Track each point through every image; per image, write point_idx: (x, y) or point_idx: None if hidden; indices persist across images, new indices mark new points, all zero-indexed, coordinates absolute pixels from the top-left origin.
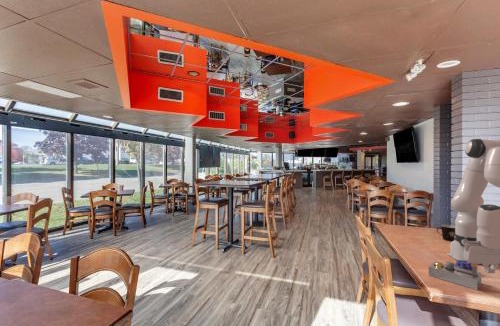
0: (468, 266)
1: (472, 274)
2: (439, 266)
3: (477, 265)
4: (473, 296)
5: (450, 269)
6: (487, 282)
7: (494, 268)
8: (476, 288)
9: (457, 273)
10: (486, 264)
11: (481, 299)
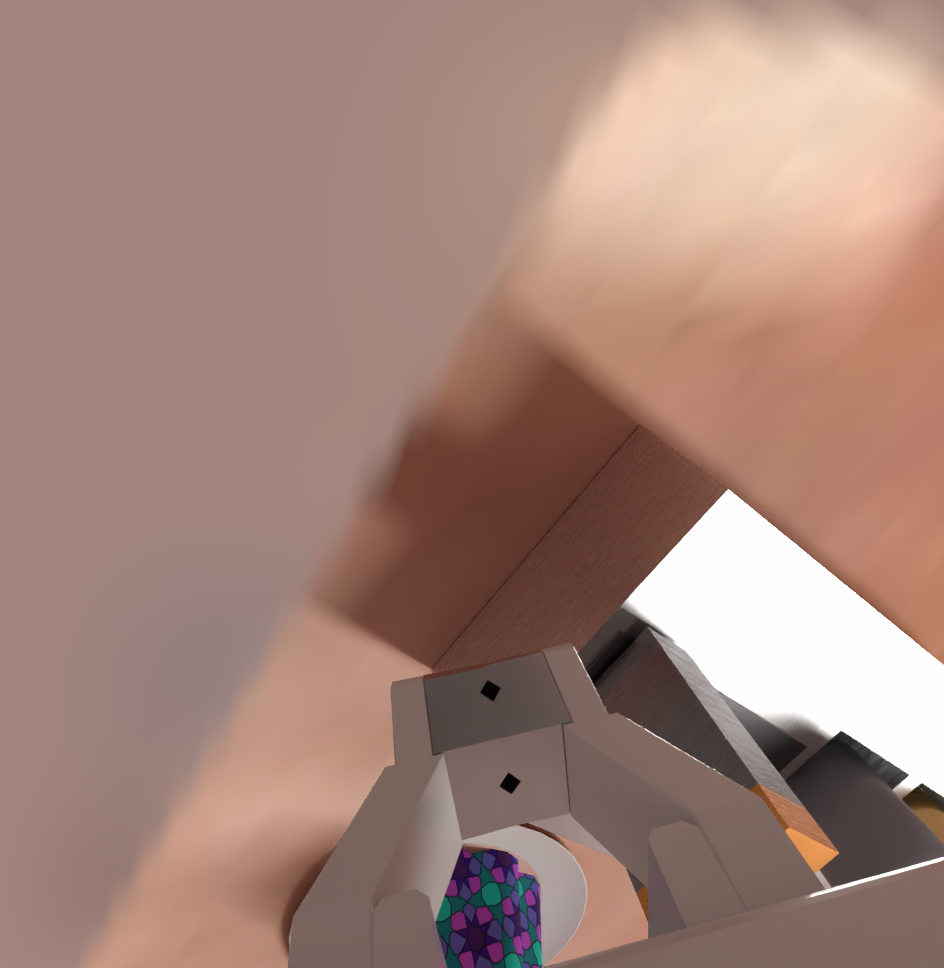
0: None
1: (694, 662)
2: (935, 814)
3: (643, 893)
4: (858, 170)
5: (866, 764)
6: (328, 716)
7: (425, 785)
8: (653, 438)
9: (858, 664)
10: (768, 842)
11: (814, 77)
